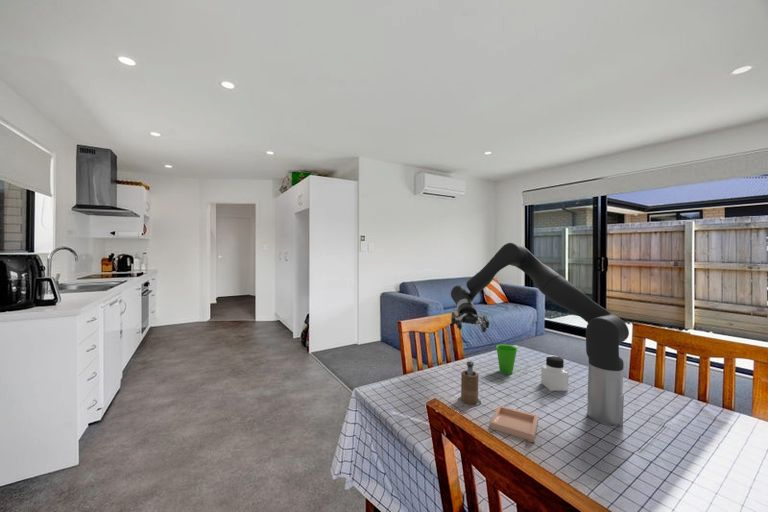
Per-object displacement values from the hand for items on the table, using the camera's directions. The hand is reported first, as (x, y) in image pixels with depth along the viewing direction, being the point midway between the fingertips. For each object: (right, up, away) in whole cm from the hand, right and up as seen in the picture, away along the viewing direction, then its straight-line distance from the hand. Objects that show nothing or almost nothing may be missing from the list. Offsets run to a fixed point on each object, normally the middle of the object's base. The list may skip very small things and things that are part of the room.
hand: (472, 328), depth 115 cm
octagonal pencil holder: (-3, -24, -6) cm, 25 cm away
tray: (+7, -25, -20) cm, 33 cm away
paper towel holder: (-3, -25, -6) cm, 26 cm away
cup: (+21, -25, +22) cm, 39 cm away
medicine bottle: (+35, -25, +8) cm, 44 cm away
